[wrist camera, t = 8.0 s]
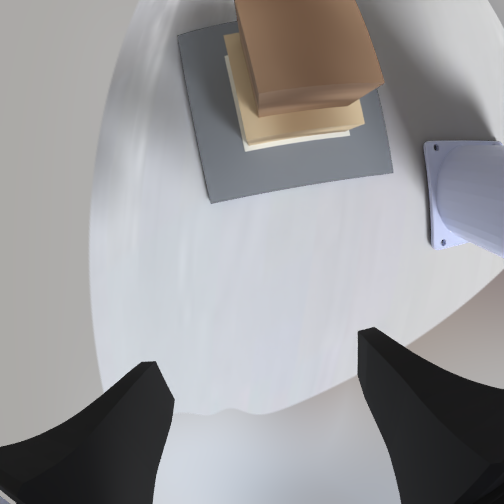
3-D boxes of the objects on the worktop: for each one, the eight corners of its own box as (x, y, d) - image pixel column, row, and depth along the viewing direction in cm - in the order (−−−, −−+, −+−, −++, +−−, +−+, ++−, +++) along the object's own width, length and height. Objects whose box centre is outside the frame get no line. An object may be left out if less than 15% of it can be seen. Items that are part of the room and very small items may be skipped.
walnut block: (325, 30, 11) (349, -13, 6) (347, 106, 12) (384, 82, 8) (240, 40, 11) (233, -6, 7) (258, 117, 12) (258, 93, 8)
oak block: (322, 46, 14) (336, 23, 10) (344, 131, 16) (365, 123, 12) (229, 58, 14) (223, 35, 11) (248, 145, 16) (246, 139, 13)
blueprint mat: (349, 16, 13) (352, 12, 13) (390, 172, 17) (394, 173, 16) (179, 38, 14) (177, 35, 14) (212, 203, 18) (210, 204, 17)
